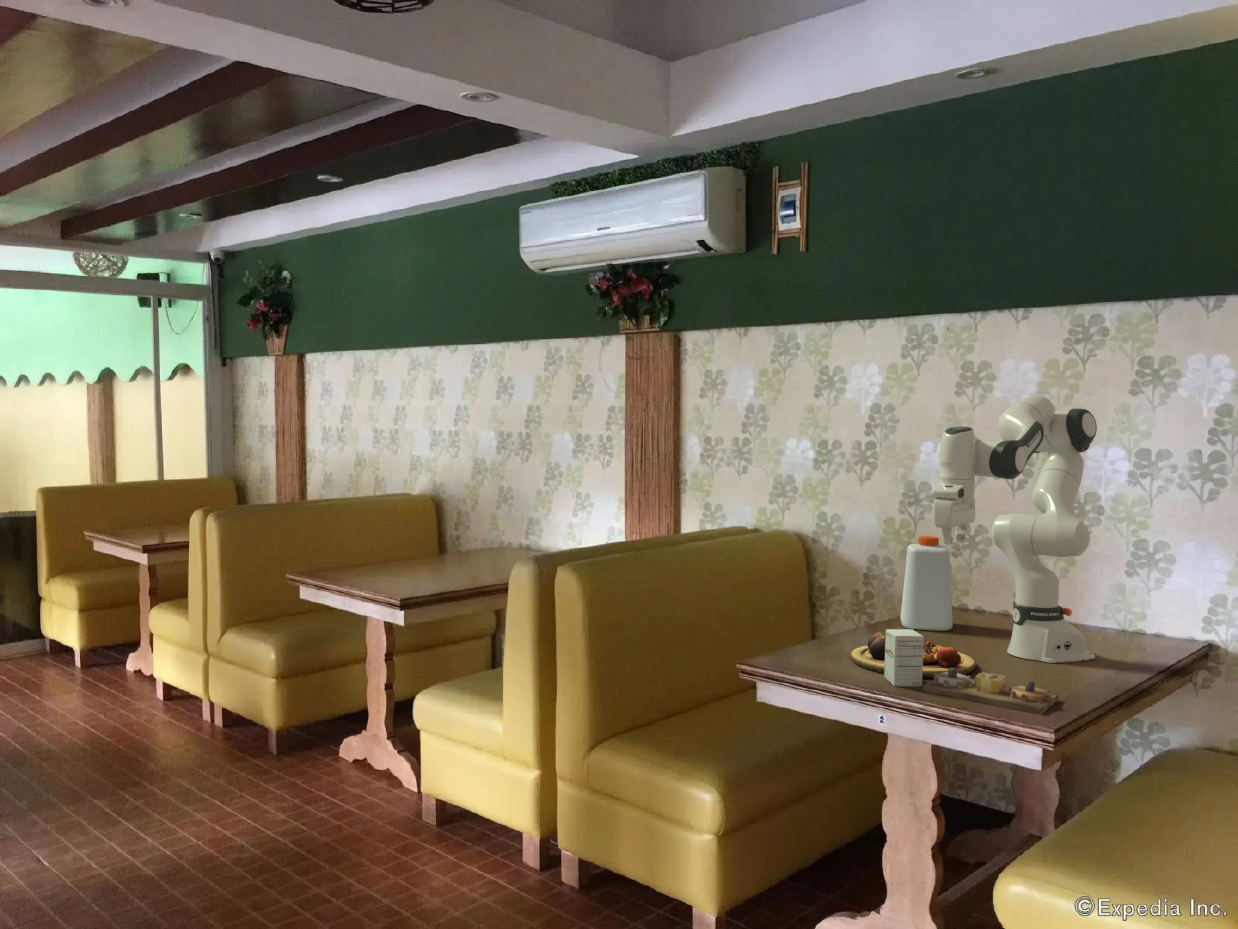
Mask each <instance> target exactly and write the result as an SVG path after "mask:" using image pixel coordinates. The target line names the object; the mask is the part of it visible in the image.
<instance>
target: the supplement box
mask: <svg viewBox="0 0 1238 929" xmlns="http://www.w3.org/2000/svg"><path fill="white" fill-rule="evenodd" d="M917 632H918V631H915V629H909V628H904V629H902V628H897V629H895V628H894V629H893V628H891V629H890V628H889V629H888V628H887V629H885V637H886V642H885V671H884V673H883V674H884V676H883V678H884V677H885V678H886V679H885V678H884V679H885V680H886V681H888V682H889V681H890V682H891V683H890V682H889V683H890V684H892V685H893V686H894V687H923V677H922V673H923V646H924V639H925V638H924V635H921V633H920V632H918V633H917ZM919 633H920V634H919Z"/></svg>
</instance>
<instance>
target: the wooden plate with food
mask: <svg viewBox="0 0 1238 929" xmlns="http://www.w3.org/2000/svg"><path fill="white" fill-rule="evenodd" d="M916 632H917V633H919V634H921V632H919V631H916ZM921 635H922V634H921ZM922 636H923V635H922ZM885 642H886V635H884V634H882V633H881V632H880V631H878V632H876V633H874V634H873V635H872V636H871V637H870V638H869V639H868V640H867V645H863V646H859V647H857V648H855V649H853V650H852V651H851V652H850V659H851V661H852V662H853V663H854V664H855V663H856V665H857V666H858V667H861V668H865V669H867V670H869V669H870V671H873V670H874V671H873V672H878V673H882V674H884V671H885ZM948 668H956V669H957V673H961V674H962V675H965V676H966V675H967V674H970V673H971V672H973V671H974V670H975V669H976V661H975V660H974V659H973V658H972V657H971V656H969V655H967V654H965V653H962V652H959V651H958V650H956V648H953V647H949V646H944V647H943V646H941V645H939V644H935V643H934V642H933V640H925V641H924V646H923V673H922V678H933V679H934V674H935V673H937V674H939V673H942V672H947V673H948Z"/></svg>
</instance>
